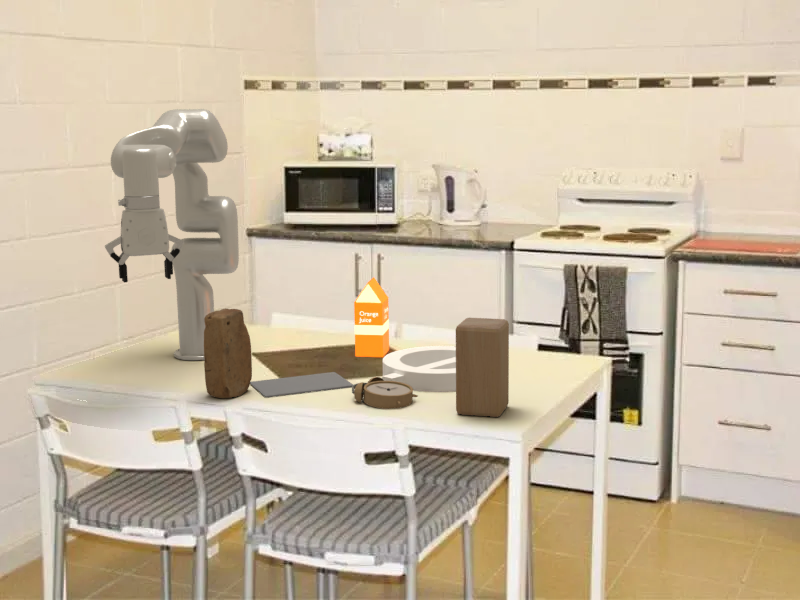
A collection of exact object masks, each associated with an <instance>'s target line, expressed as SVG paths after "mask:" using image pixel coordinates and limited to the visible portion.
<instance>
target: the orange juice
mask: <svg viewBox="0 0 800 600" xmlns="http://www.w3.org/2000/svg"><path fill="white" fill-rule="evenodd" d="M353 307H354V308H353V310H354V313H353V314H354V315H353V316H354V346H355V347H354V349H355V350H354V357H361V358H365V357H366V358H367V357H368V358H384V356H386V355H387V353H389V351H390V319H389V318H390V317H389V315H390V314H389V296H388V295H387V294H386V293H385V291H384V289H383V288H382V287H381V285H380V283H379V282H378V281H377V279H376V278H375V276H373V277H372V278H371V279H370V280H369V281H368V282H366V285H365V286H364V287H363V288H362V290H361V292H360V293H359V295H358V296H357V298H356V299H355V301H354V302H353Z"/></svg>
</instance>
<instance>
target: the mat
mask: <svg viewBox="0 0 800 600" xmlns="http://www.w3.org/2000/svg"><path fill="white" fill-rule="evenodd" d="M250 384H251V385H252V386H253V387H254V389H255V390H256V391H257V390H258V391H259V392H260V393H261V396H263V397H264V396H265V397H268V398H273V397H272V396H276V397H280V396H279V395H284V396H289V395H288V394H292V395H298V394H297V393H300V394H306V393H305V392H308V393H312V392H311V391H316V392H322V391H321V390H324V391H330V390H331V389H332V390H338V389H340V388H341V389H347V388H352V386H353V385H354V384H353V383H352V382H351V381H349V380H347V379H345V377H343V376H342V375H340V374H338V373H337V372H335V371H332V372H331V371H329V372H322V373H313V374H306V375H305V374H303V375H298V376H297V375H296V376H288V377H287V376H286V377H278V378H273V379H272V378H271V379H261V380H254V381H252V380H251V381H250ZM251 385H250V386H251ZM252 386H251V387H252ZM253 387H252V388H253ZM258 391H257V392H258ZM259 392H258V393H259ZM260 393H259V394H260ZM265 397H264V398H265Z"/></svg>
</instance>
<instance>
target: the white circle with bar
mask: <svg viewBox="0 0 800 600" xmlns="http://www.w3.org/2000/svg"><path fill="white" fill-rule="evenodd" d="M381 378H382V379H383V380H384V381H396V382H401V383H405V384H408V385H409V386H411V387H412V388H413V391H417V392H433V393H437V392H438V393H442V392H443V393H444V392H445V393H446V392H447V393H448V392H449V393H450V392H456V345H455V346H454V345H427V346H416V347H409V348H404V349H399V350H395V351H392V352H390V353H389V352H388V354H387V353H386V354H385V356H384V357H382V376H381Z"/></svg>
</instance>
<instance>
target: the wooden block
mask: <svg viewBox="0 0 800 600" xmlns="http://www.w3.org/2000/svg"><path fill="white" fill-rule="evenodd" d="M509 328H510V323H509V321H508V320H507V319H504V318H487V317H486V318H485V317H483V318H482V317H467V318H465V319H463V320H462V321H461V322H460V323H459V324H458V325H456V328H455V346H456V391H455V411H456V414H458V415H460V414H462V416H473V415H475V417H487V416H490V418H498V416H499V417H501V416H502V414H503V413H504V411H505V409H506V408H508V405H509V403H510V402H509V401H510V400H509V398H510V397H509V396H510V395H509V389H510V388H509V386H510V385H509V384H510V383H509V378H510V377H509V373H510V372H509V371H510V369H509V363H510V361H509V360H510V357H509V356H510V355H509V354H510V353H509V351H510V350H509V349H510V347H509V346H510V345H509V344H510V340H509V337H510V336H509V335H510V329H509Z"/></svg>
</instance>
